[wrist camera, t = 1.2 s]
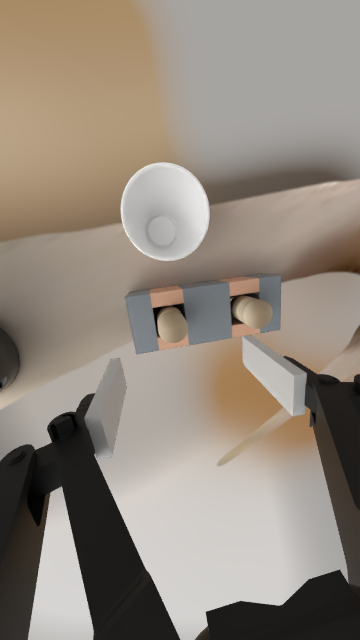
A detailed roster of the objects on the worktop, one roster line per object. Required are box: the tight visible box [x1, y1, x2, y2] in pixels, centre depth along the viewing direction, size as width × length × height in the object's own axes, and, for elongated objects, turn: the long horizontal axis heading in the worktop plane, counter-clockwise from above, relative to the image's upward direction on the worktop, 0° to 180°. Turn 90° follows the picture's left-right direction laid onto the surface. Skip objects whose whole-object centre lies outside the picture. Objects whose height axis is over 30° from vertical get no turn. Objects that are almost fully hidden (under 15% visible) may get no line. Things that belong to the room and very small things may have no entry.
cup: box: [121, 162, 210, 261], centre depth 27 cm, size 10×10×11 cm
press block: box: [125, 274, 281, 354], centre depth 33 cm, size 24×9×6 cm, turn 97°
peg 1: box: [157, 306, 188, 343], centre depth 29 cm, size 4×4×6 cm
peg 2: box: [230, 295, 273, 329], centre depth 30 cm, size 4×4×6 cm
